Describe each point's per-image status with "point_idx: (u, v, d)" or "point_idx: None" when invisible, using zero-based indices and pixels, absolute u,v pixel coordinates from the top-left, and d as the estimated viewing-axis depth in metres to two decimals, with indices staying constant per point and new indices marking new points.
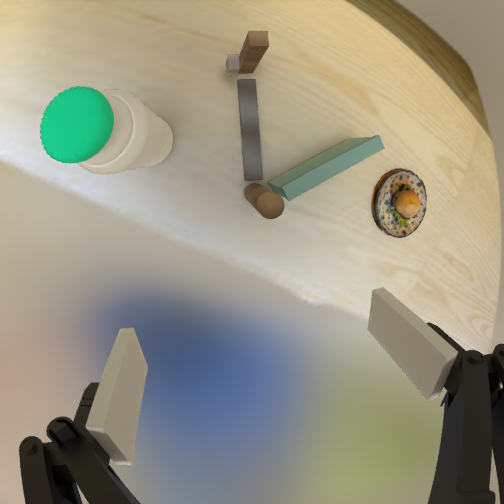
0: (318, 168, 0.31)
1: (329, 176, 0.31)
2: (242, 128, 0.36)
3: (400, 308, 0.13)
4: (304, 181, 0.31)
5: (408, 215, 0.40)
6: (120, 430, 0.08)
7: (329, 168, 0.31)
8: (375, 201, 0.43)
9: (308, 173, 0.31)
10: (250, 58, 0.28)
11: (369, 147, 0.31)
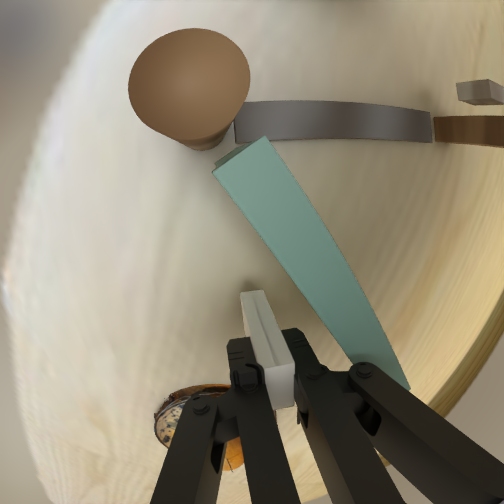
0: (343, 265, 0.09)
1: (319, 307, 0.09)
2: (349, 104, 0.16)
3: (263, 310, 0.14)
4: (296, 222, 0.08)
5: None
6: None
7: (343, 301, 0.10)
8: (210, 392, 0.22)
9: (325, 232, 0.09)
10: (497, 126, 0.11)
11: None
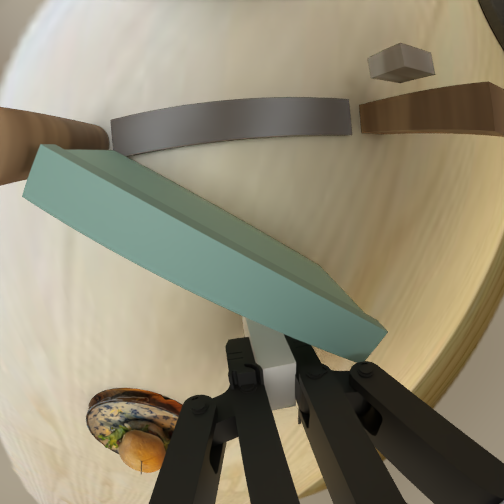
0: (164, 218, 0.08)
1: (166, 273, 0.08)
2: (234, 101, 0.15)
3: None
4: (93, 200, 0.07)
5: (121, 456, 0.18)
6: None
7: (192, 256, 0.08)
8: (128, 395, 0.21)
9: (124, 195, 0.07)
10: (424, 104, 0.10)
11: (342, 331, 0.10)
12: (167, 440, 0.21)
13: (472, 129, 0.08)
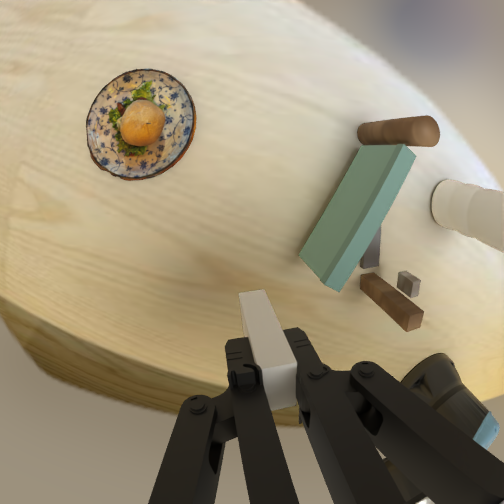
0: (393, 199, 0.22)
1: (378, 198, 0.22)
2: None
3: (265, 310, 0.14)
4: (400, 174, 0.22)
5: (144, 102, 0.21)
6: None
7: (382, 207, 0.22)
8: None
9: (400, 186, 0.22)
10: (397, 295, 0.29)
11: (346, 268, 0.24)
12: None
13: (403, 310, 0.26)
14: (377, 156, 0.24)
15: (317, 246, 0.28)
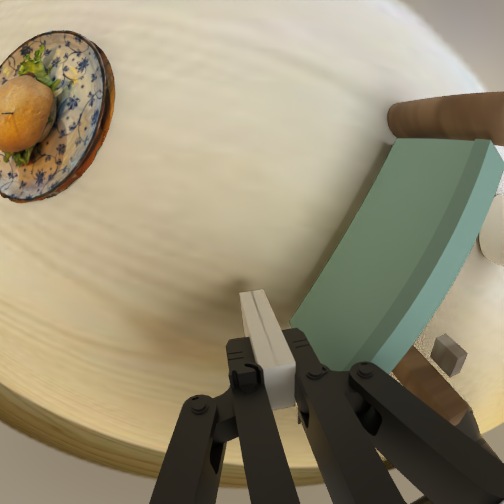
0: (469, 248, 0.10)
1: (447, 250, 0.10)
2: None
3: (264, 310, 0.14)
4: (483, 200, 0.09)
5: (17, 79, 0.08)
6: None
7: (451, 267, 0.10)
8: (105, 97, 0.13)
9: (481, 223, 0.09)
10: (432, 375, 0.17)
11: None
12: (30, 152, 0.12)
13: (441, 407, 0.14)
14: (433, 159, 0.12)
15: (320, 318, 0.16)
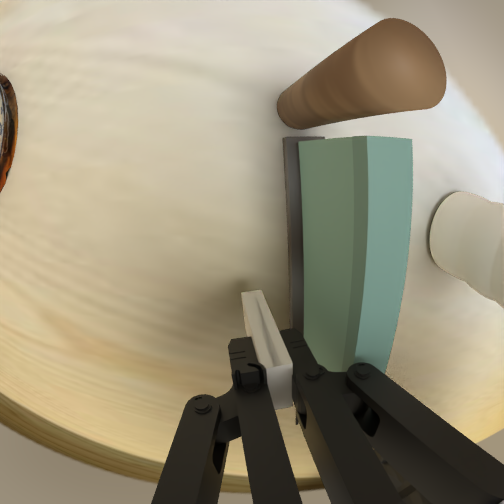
0: (402, 275, 0.09)
1: (367, 302, 0.09)
2: None
3: (261, 311, 0.14)
4: (395, 217, 0.08)
5: None
6: None
7: (384, 308, 0.10)
8: (9, 127, 0.12)
9: (407, 240, 0.09)
10: None
11: None
12: None
13: None
14: (330, 171, 0.11)
15: (315, 352, 0.17)
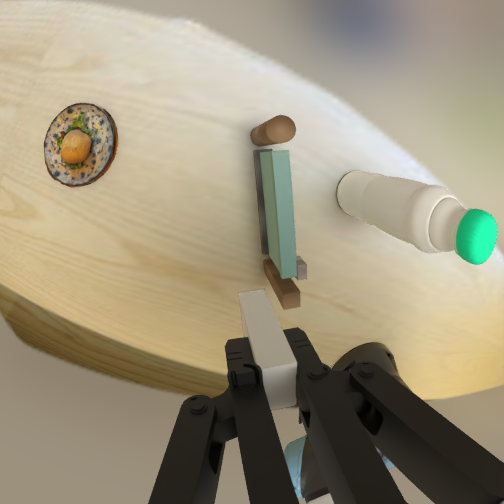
0: (291, 195, 0.30)
1: (278, 203, 0.30)
2: None
3: (265, 310, 0.14)
4: (284, 175, 0.29)
5: (75, 132, 0.28)
6: None
7: (286, 207, 0.30)
8: (113, 139, 0.33)
9: (290, 182, 0.29)
10: None
11: (289, 260, 0.32)
12: None
13: (280, 289, 0.33)
14: (267, 163, 0.32)
15: (272, 247, 0.37)
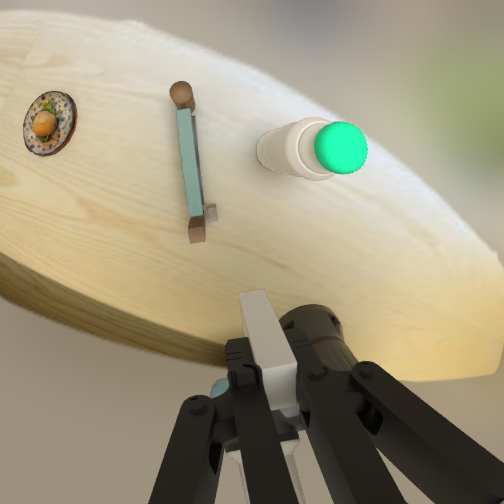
0: (192, 143, 0.34)
1: (182, 151, 0.34)
2: (198, 160, 0.43)
3: (265, 310, 0.14)
4: (186, 128, 0.33)
5: (43, 112, 0.32)
6: None
7: (188, 153, 0.34)
8: (73, 117, 0.37)
9: (191, 133, 0.34)
10: (198, 220, 0.40)
11: (194, 199, 0.36)
12: (48, 136, 0.35)
13: (188, 226, 0.37)
14: None
15: None
